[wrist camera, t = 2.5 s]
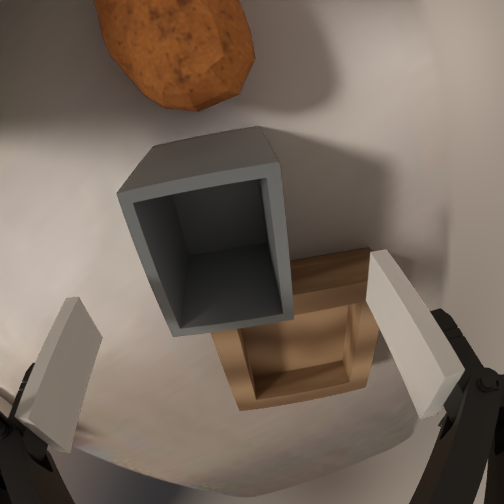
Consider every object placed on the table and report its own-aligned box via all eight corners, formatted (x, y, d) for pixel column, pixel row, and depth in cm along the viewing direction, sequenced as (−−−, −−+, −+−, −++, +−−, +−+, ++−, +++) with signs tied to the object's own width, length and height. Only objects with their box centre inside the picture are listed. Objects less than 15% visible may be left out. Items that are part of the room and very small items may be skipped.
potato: (159, 121, 18) (128, 150, 13) (92, -32, 12) (41, -60, 6) (265, 80, 18) (287, 87, 12) (196, -78, 11) (185, -130, 5)
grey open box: (153, 146, 19) (116, 193, 13) (259, 126, 19) (279, 162, 13) (184, 258, 24) (173, 336, 18) (274, 243, 24) (294, 319, 17)
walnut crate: (204, 274, 25) (202, 309, 22) (369, 247, 25) (388, 276, 22) (237, 381, 34) (239, 411, 30) (355, 359, 34) (365, 387, 30)
